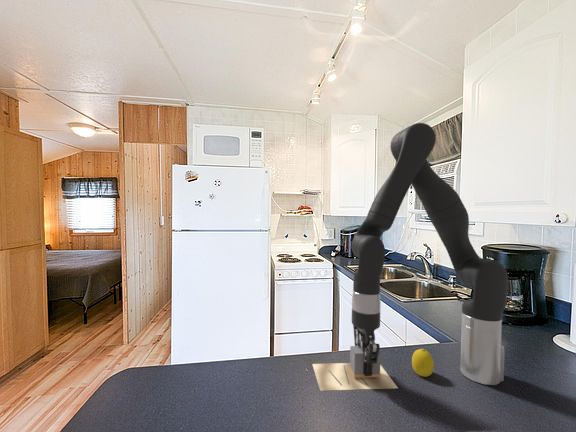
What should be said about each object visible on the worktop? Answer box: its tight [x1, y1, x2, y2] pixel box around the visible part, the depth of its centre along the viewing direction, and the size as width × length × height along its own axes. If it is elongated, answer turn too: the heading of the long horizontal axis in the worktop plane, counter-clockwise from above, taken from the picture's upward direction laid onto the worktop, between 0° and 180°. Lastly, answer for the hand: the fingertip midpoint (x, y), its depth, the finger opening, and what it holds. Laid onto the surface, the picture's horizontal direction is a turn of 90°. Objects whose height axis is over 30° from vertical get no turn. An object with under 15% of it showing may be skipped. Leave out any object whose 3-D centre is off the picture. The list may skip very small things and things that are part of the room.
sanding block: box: [349, 345, 382, 378], centre depth 75 cm, size 7×4×6 cm, turn 95°
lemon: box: [411, 348, 435, 378], centre depth 76 cm, size 6×6×8 cm
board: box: [312, 362, 399, 392], centre depth 75 cm, size 20×12×1 cm, turn 95°
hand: (364, 369), depth 75 cm, fingers closed on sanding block, 4 cm apart
